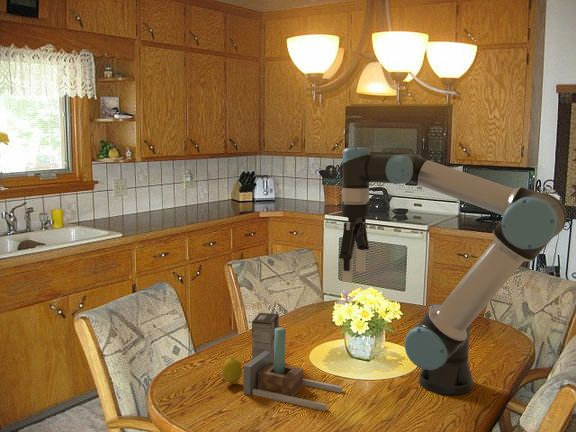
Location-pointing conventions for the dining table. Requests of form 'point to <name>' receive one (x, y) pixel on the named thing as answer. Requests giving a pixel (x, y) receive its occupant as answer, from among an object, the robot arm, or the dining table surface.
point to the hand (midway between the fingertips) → (354, 276)
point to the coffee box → (264, 333)
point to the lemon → (232, 370)
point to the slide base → (252, 387)
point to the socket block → (281, 380)
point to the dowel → (279, 350)
